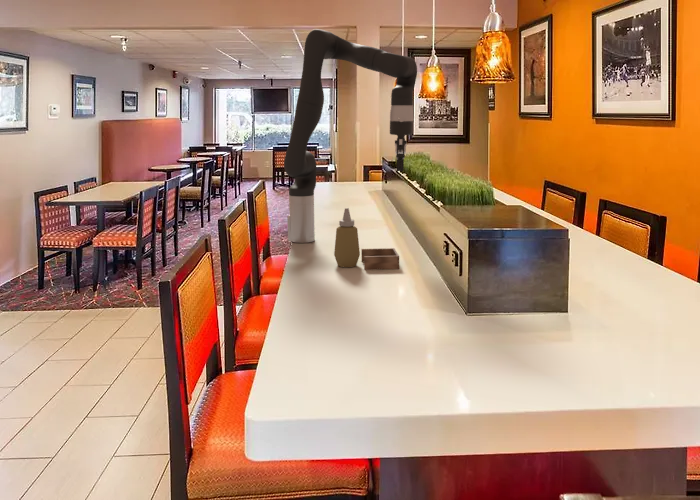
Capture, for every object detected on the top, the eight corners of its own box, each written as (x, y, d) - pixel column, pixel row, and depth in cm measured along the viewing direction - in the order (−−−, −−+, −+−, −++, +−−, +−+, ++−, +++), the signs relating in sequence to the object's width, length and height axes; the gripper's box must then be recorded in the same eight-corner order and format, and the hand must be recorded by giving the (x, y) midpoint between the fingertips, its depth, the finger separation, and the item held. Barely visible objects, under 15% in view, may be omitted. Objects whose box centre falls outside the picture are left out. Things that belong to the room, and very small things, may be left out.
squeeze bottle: (343, 261, 191) (343, 205, 187) (365, 264, 187) (365, 207, 183) (328, 266, 185) (328, 209, 181) (350, 270, 180) (350, 211, 176)
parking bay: (364, 269, 181) (364, 256, 180) (361, 260, 192) (361, 248, 191) (399, 268, 181) (399, 256, 180) (394, 260, 192) (394, 248, 191)
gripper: (390, 119, 201) (389, 167, 205) (389, 120, 188) (388, 171, 191) (412, 119, 201) (411, 168, 204) (413, 120, 187) (411, 172, 191)
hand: (400, 169), depth 198 cm, fingers open, 8 cm apart
